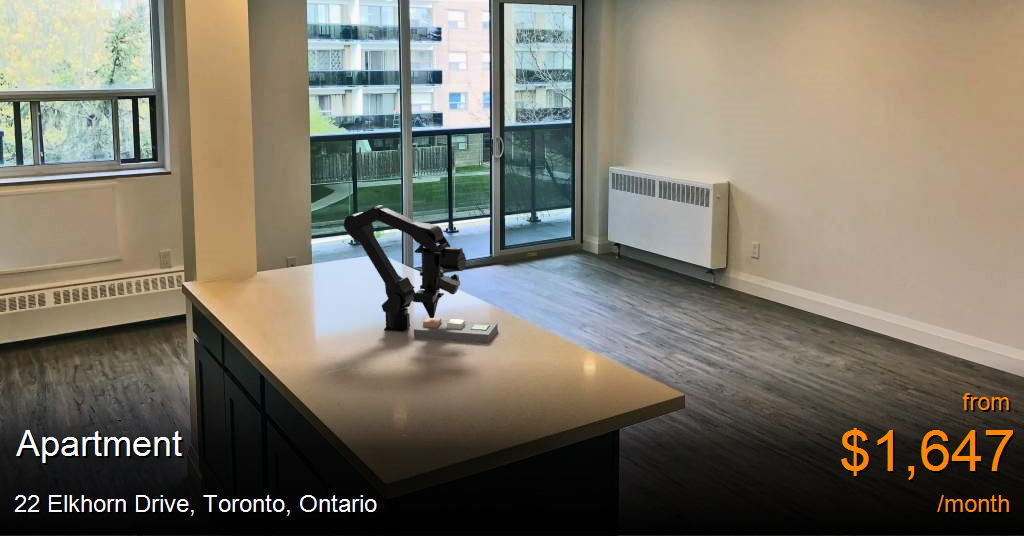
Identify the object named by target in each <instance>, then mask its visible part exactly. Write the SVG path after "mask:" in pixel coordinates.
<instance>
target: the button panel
mask: <svg viewBox="0 0 1024 536" xmlns="http://www.w3.org/2000/svg"><path fill="white" fill-rule="evenodd" d="M426 318H427V317H426ZM426 318H424V319H423V320H422V321H420V323H419V324H417V326H415V328H413V338H415V339H416V338H419V339H431V340H445V341H459V342H460V341H461V342H472V343H473V342H475V343H484V344H489V343H490V342H491V340H492V339H493V337H495V335H496V333H497V332H498V331H499V329H498V325H499V324H498V322H485V321H484V322H483V321H472V320H465V326H464V327H463V329H452V328H447V323H448V322H449V321H450V320H451V319H444V318H441V325H440V326H439V327H423V321H424V320H425V319H426ZM474 325H489V328H488V329H487V331H481V330H471V328H472V327H473V326H474Z"/></svg>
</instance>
